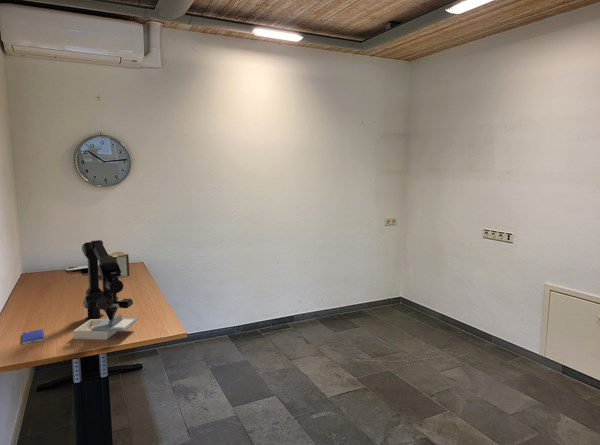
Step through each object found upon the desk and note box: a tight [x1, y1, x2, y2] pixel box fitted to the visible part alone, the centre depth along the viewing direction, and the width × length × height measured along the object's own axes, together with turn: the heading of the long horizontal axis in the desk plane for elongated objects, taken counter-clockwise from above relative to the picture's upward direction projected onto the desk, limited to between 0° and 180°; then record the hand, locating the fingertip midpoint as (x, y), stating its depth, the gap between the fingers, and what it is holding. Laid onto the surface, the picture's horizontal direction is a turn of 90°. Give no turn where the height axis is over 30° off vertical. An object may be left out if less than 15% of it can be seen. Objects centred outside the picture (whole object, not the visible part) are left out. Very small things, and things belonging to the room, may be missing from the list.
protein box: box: [107, 251, 131, 279], centre depth 294 cm, size 10×15×16 cm
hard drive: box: [21, 328, 45, 345], centre depth 184 cm, size 2×8×12 cm
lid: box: [91, 314, 140, 332], centre depth 188 cm, size 14×15×3 cm
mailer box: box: [73, 318, 118, 341], centre depth 189 cm, size 14×15×4 cm
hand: (111, 321), depth 188 cm, fingers closed
